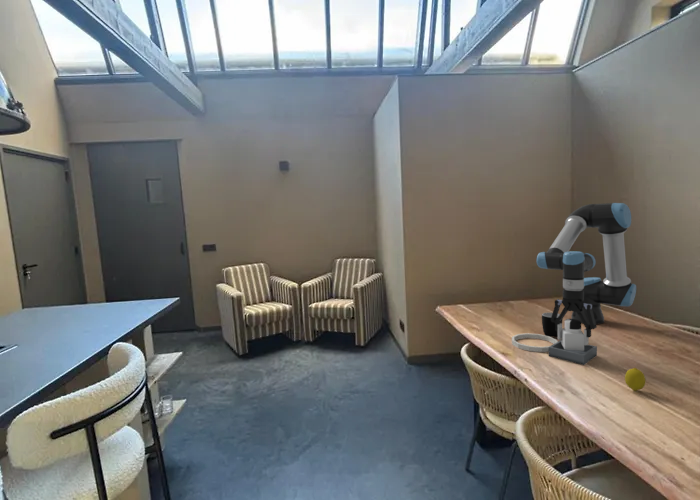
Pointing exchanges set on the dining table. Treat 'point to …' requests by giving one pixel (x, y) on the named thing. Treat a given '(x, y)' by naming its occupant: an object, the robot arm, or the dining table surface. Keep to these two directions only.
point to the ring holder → (532, 348)
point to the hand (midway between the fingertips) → (572, 341)
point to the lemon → (635, 379)
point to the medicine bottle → (572, 335)
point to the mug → (549, 325)
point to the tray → (573, 353)
